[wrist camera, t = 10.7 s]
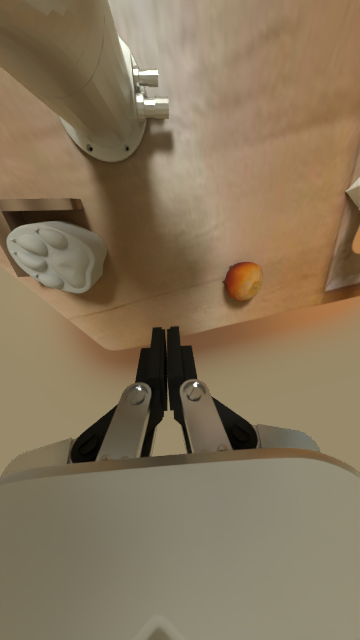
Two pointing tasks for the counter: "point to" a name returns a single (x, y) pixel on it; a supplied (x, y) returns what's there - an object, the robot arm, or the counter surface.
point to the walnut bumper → (7, 217)
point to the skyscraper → (355, 193)
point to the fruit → (244, 280)
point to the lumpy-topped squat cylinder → (59, 254)
